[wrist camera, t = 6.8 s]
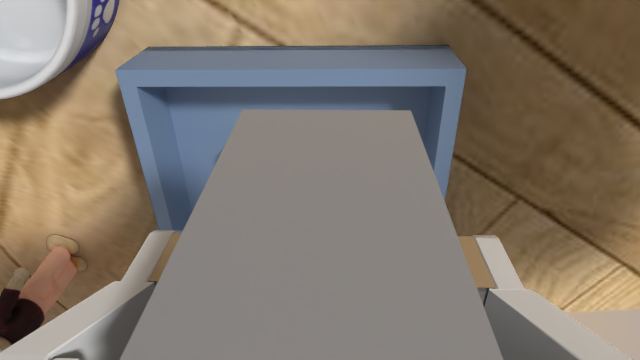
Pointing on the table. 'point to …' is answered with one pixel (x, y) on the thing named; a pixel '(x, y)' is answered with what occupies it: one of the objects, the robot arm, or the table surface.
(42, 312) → the grandmother figurine
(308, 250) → the connector plug
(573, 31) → the table surface
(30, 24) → the dog bowl
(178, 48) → the walled tray
